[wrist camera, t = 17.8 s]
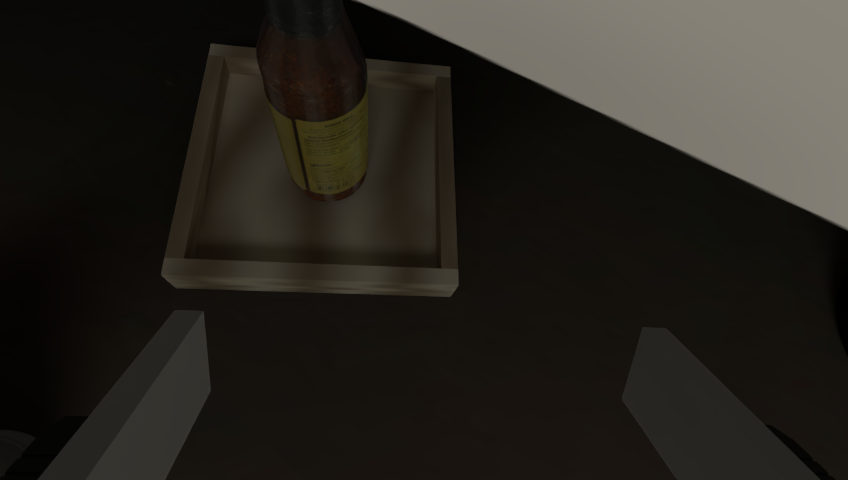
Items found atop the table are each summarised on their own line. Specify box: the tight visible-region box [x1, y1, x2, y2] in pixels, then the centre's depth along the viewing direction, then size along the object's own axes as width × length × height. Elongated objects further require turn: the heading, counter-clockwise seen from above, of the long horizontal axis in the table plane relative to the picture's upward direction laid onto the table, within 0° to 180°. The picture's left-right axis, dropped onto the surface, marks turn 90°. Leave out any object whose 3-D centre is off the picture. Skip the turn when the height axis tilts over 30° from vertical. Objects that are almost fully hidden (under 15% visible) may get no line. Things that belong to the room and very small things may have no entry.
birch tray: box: [161, 44, 459, 297], centre depth 38 cm, size 20×20×3 cm
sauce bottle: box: [256, 0, 368, 202], centre depth 29 cm, size 6×6×20 cm
